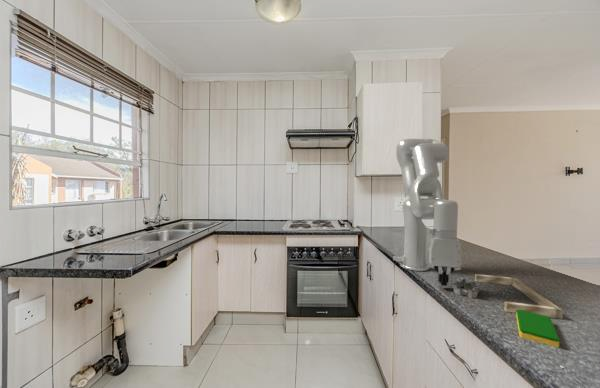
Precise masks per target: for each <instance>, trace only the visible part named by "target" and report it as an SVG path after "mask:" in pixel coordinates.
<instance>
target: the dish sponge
mask: <svg viewBox="0 0 600 388" xmlns="http://www.w3.org/2000/svg"><path fill="white" fill-rule="evenodd" d="M515 314H516V315H515V316H516V323H517V330H518V336H519V338H521V337H522V339H524V338H525V339H524V340H528V339H529V341H531V340H532V342H535V341H537V342H536V343H538V342H541V343H540V344H542V343H545V344H544V345H546V344H549V345H552V346H551V347H553V346H556V347H559V348H560V338H559V335H558V333H557V331H556V329H555V326H554V323H553V321H552V317H548V316H544V315H540V314H535V313H531V312H527V311H522V310H517V312H516V313H515ZM549 345H548V346H549ZM556 347H555V348H556Z"/></svg>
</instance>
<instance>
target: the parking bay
mask: <svg viewBox="0 0 600 388" xmlns="http://www.w3.org/2000/svg"><path fill="white" fill-rule="evenodd" d="M474 281H475V283H487V284H495V285H496V284H497V285H504V286H506V285H507V286H513V287H514V288H515V289H517V290H518V291H519V292H521V293H522V294H523V295H525V296H526V297H527V298H528V299H530V300H531V301H533V302H534V303H536V304H529V303H522V302H521V303H520V302H514V301H513V302H512V301H507V300H505V301H504V307H503V308H504V311H505V312H506V313H515V314H516V312H517V310H522V311H527V312H531V313H535V314H540V315H544V316H548V317H550V318H551V319H552V318H553V319H560V320H561V319H562V320H563V315H564V310H563V309H562V308H560V307H559V306H557V305H556V304H554V303H553V302H552V301H551V300H548V299H547V298H546V297H544V296H543V295H541V294H540V293H538V292H537V291H536V290H534V289H532V287H529V286H528V285H526V284H525V283H523V282H522V281H521V280H520V279H518V278H516V277H507V276H498V275H490V274H488V275H487V274H477V273H475V274H474Z"/></svg>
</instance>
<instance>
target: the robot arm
mask: <svg viewBox="0 0 600 388" xmlns="http://www.w3.org/2000/svg"><path fill="white" fill-rule="evenodd" d="M395 155H396V161H397V162H398V164H399V167H400V170H401V179H402V185H403V191H404V192H403V193H404V194H405V195H406V196H408V197H409V198H408V199H405V201H403V204H402V213H403V220H404V221H403V223H404V226H403V227H404V228H403V229H404V230H403V232H404V233H403V234H404V235H403V236H404V237H403V254H402V255H400V256H397V255H394V256H392V259H393V261H396V262H399V266H400V267H402V268H403V269H406V270H409V271H416V272H425V271H430V269H434V270H435V271H436V272H437V273H438V282H439V283H440V285H441V286H448V285H447V284H449V278H450V277H449V276H450V275H451V273H453V272H454V271H460V270H462V268H461V267H462V246H461V242H460V241H461V240H460V239H459V238H458V214H459V205H458V202H457V201H455V200H448V199H445V198H444V195H443V194H444V193H443V189H442V185H441V181H439V179H438V178H439V177H440V170H439V167H438V164H439V163H440V164H443V163H446V162H447V161H448V160H449V158H450V150H449V147H448V146H447V144H445V143H443V142H442V141H440V140H436V139H432V138H406V139H402V140H400V141H399V142H397V145H396V151H395ZM425 197H426V198H425ZM423 220H433V227H432V229H431V230H428V228H427V227H426V225H425V223H424V221H423ZM428 234H430V235H432V236H431V237H430V240H429V245H428V250H427V244H428V243H427V242H428ZM427 251H428V254H427ZM427 257H428V262H427ZM443 268H444V271H443Z"/></svg>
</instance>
